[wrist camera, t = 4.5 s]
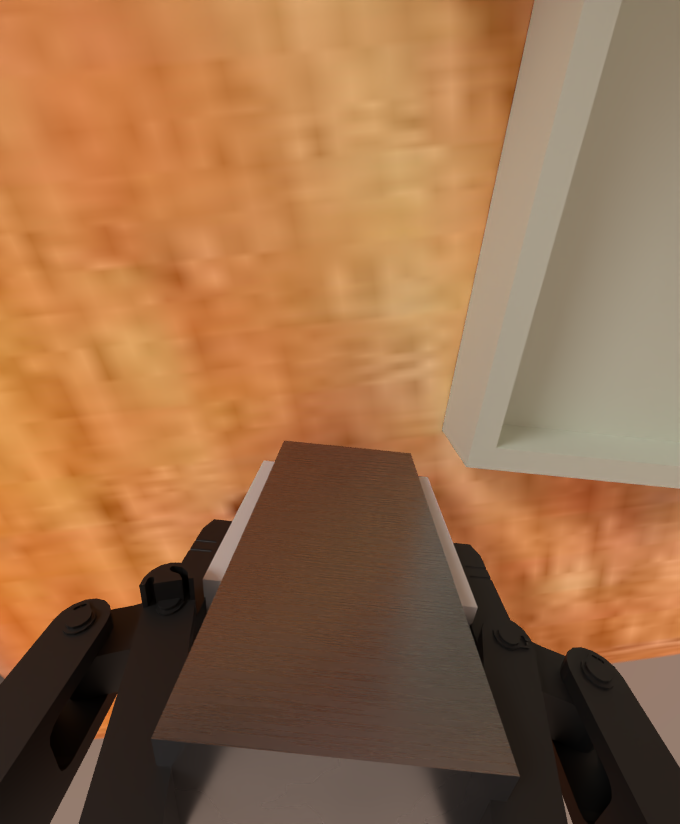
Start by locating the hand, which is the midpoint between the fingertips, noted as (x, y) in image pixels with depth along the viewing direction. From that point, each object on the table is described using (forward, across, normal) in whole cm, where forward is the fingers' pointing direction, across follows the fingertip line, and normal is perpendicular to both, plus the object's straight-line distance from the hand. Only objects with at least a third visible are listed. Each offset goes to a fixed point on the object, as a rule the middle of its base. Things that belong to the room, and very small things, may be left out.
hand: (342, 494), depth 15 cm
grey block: (+1, 0, -3) cm, 3 cm away
